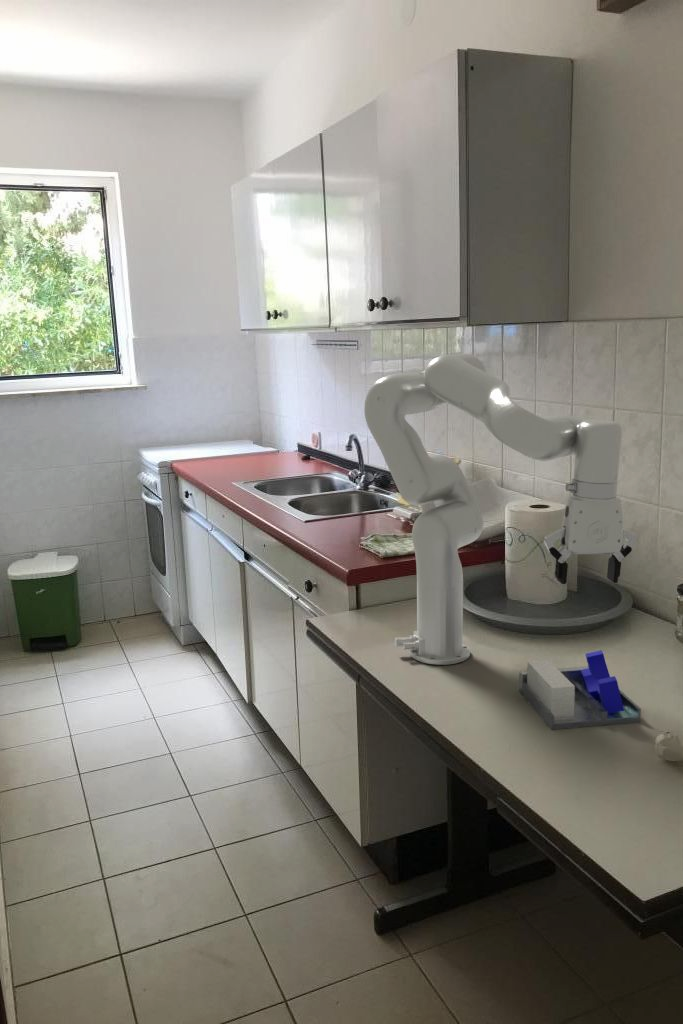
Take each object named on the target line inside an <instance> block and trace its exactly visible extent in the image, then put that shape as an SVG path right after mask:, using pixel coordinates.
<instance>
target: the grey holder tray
mask: <svg viewBox="0 0 683 1024" xmlns="http://www.w3.org/2000/svg"><path fill="white" fill-rule="evenodd" d="M587 668H589V667H588V665H586V666H575V667H574V666H573V667H563V668H562V667H561V668H557V667H556V666H555V665H554V664H553V663H552V662H551V661H550V660H549V659H545V660H531V661H530V660H529V661H527V667H526V669H527V670H520V671H519V675H518V676H519V680H518V681H519V682H518V692H519V693H520V694H521V696H522V697H523V696H524V697H523V698H524V699H525V700H526V702H527V703H528V704H529V705H530V707H531V708H533V710H534V711H535V713H537V715H538V716H539V717H540V718H541V719H542V721H543V722H544V723H545V725H546V726H547V727H548V728H549V729H550V731H551V730H553V731H554V730H565V729H575V728H578V729H579V728H586V727H597V726H600V727H601V726H609V725H610V726H611V725H612V726H613V725H620V724H623V725H624V724H632V723H633V724H634V723H635V724H637V723H640V722H641V715H642V714H641V711H642V710H641V707H640V706H639V705H637V704H636V703H635V702H634V701H633V700H632V699H630V698H629V697H628V695H626V694H625V693H624V692H623V691H622V690H620V689H619V691H620V695H621V700H622V704H623V708H624V711H620V712H616V713H611V714H608V711H607V710H606V709H605V708H604V707H603V705H602V703H601V701H600V698H596V699H594V698H593V697H592V696H591V695H590V694H589V693H588V692H587V689H586V687H585V685H584V681H583V677H582V673H581V670H583V669H587Z"/></svg>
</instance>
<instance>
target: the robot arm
mask: <svg viewBox="0 0 683 1024" xmlns="http://www.w3.org/2000/svg"><path fill="white" fill-rule="evenodd" d="M510 392H511V391H510V387H509V385H508V383H506V381H504V380H502V379H499V378H497V377H495V376H494V375H492V374H490V373H488V372H487V370H486V367H485V364H484V363H483V362H482V361H481V360H480V358H478V357H477V356H475V355H473V354H469V353H452V354H442V355H439V356H437V357H435V358H433V359H432V360H431V361H430V362H429V363H427V365H426V367H425V369H424V370H423V371H418V372H417V371H416V372H407V373H406V372H403V373H393V374H389V375H386V376H383V377H381V378H379V379H377V380H376V381H375V382H374V383H373V384H372V385H371V387H370V388H369V390H368V392H367V394H366V396H365V400H364V408H363V409H364V418H365V421H366V426H367V427H368V430H369V431H370V433H371V436H372V438H373V440H374V441H375V442H376V445H377V446H378V448H379V450H380V452H381V454H382V456H383V458H384V461H385V463H386V466H387V468H388V470H389V473H390V474H391V476H392V479H393V482H394V483H395V486H396V487H397V490H398V492H399V494H400V496H401V498H402V499H403V500H404V502H406V503H407V504H409V505H410V506H423V505H427V504H430V503H433V504H434V507H432V508H429V509H427V510H425V511H423V512H422V513H421V514H419V516H417V518H416V519H415V521H414V523H413V526H412V531H411V536H412V537H411V539H412V544H413V545H412V546H413V550H414V555H415V563H416V564H415V566H416V568H415V569H416V630H413V634H412V635H410V634H409V636H408V637H404V636H399V637H395V638H394V645H395V647H396V648H397V647H398V648H399V647H402V649H403V650H409V655H410V656H411V657H412V659H414V660H416V661H418V662H420V663H423V664H427V665H437V666H442V665H443V666H444V665H447V666H448V665H454V664H458V663H459V664H460V663H462V662H465V661H466V660H468V658H470V655H471V648H470V647H469V646H468V645H467V644H465V643H464V641H463V639H464V638H463V635H464V634H463V629H464V628H463V627H464V626H463V625H464V623H463V621H464V619H463V618H464V616H463V615H464V613H463V611H464V605H463V604H464V577H463V576H464V575H463V574H464V573H463V566H462V562H461V560H460V556H459V552H458V549H460V548H462V547H465V546H467V545H469V544H472V543H473V542H475V541H476V540H478V539H479V538H480V536H481V535H482V532H483V529H484V519H483V515H482V511H481V509H480V507H479V504H478V502H477V500H476V498H475V496H474V494H473V491H472V490H471V486H470V485H469V483H468V481H467V478H466V476H465V474H464V472H463V470H462V469H461V467H460V466H459V464H457V463H456V461H455V460H454V459H452V458H450V457H449V456H448V455H447V456H446V455H443V454H434V455H429V454H428V452H427V450H426V448H425V446H424V444H423V442H422V439H421V437H420V436H419V433H418V432H417V430H415V428H414V427H413V426H412V425H411V424H410V423H409V422H408V421H407V420H406V415H413V414H420V413H426V412H430V411H433V410H435V409H436V410H437V409H439V408H441V407H442V408H443V407H445V406H447V405H451V406H453V407H455V408H457V409H459V410H461V411H462V412H464V413H466V414H468V415H470V416H471V417H473V418H475V419H476V420H479V421H480V422H481V423H483V424H484V426H485V428H486V429H487V430H488V431H489V433H491V434H492V435H493V436H494V438H495V439H497V440H498V441H500V443H502V444H504V445H505V446H507V447H509V448H511V449H512V450H514V451H516V452H518V453H520V454H521V455H522V456H523V455H524V456H525V457H528V458H529V459H532V460H535V461H541V462H548V461H549V462H550V461H552V460H556V459H560V458H564V457H568V456H574V457H575V458H574V469H573V470H574V471H573V472H574V473H573V478H572V481H571V482H570V483H565V491H566V492H570V493H571V495H569V496H568V498H567V500H566V501H567V502H566V505H565V509H564V513H563V517H562V523H561V527H560V528H559V529H557V530H555V531H553V532H551V533H549V534H547V535H545V536H543V538H542V541H543V543H544V545H545V547H546V550H547V552H548V553H549V554H550V555H551V556H552V558H554V559H555V568H554V569H555V570H554V577H555V578H556V580H557V581H558V582H559V583H560V584H561V585H565V584H567V580H568V568H569V567H568V566H569V564H568V563H567V560H568V558H569V557H570V556H571V555H572V554H574V555H610V557H609V558H608V561H607V563H608V564H607V573H606V578H607V579H608V580H609V581H611V582H612V583H613V584H617V583H618V581H619V578H620V577H621V568H622V562H624V561H625V558H626V557H627V556H629V554H630V553H631V552H633V551H632V550H633V548H634V546H635V544H636V543H637V542H638V537H637V536H636V535H634V534H632V533H630V532H628V531H627V530H625V529H623V528H624V526H623V523H624V522H623V518H624V517H623V506H622V499H621V498H620V497H617V492H618V480H619V469H620V468H619V467H620V457H621V449H622V447H621V446H622V438H623V436H622V433H623V429H622V426H621V424H620V423H619V422H616V421H614V420H607V419H588V418H583V417H579V416H576V415H571V414H559V415H554V416H553V415H552V416H548V417H547V416H546V417H542V416H540V415H537V414H535V413H533V412H532V411H529V410H528V409H526V408H524V407H521V406H520V405H518V404H517V403H516V402H515V401H514V400H512V398H510V394H511V393H510ZM623 539H625V541H624V544H623ZM558 540H560V545H561V546H560V547H559V548H558V549H557V548H556V547H555V542H556V541H558Z"/></svg>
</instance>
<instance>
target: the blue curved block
mask: <svg viewBox="0 0 683 1024" xmlns="http://www.w3.org/2000/svg"><path fill="white" fill-rule="evenodd" d="M584 656H585V658H586V662H587V666H588V667H589V668H587V669H583V670H581V673H582V677H583V681H584V685H585V687H586V689H587V692H588V693H589V694H590V695H591V696H592V697H593V698H594V699H596V698H600V701H601V703H602V705H603V707H604V708H605V709H606V710H607V711H608V714H611V713H616V712H620V711H624V708H623V704H622V700H621V695H620V691H621V690H620V688H619V684H618V679H617V677H616V676H614V675H613V676H611V675H610V672H609V670H608V665H607V662H606V658H605V656H604V652H603V650H602V649H601V650H597V651H592V652H587V653H585V655H584ZM619 690H620V691H619Z"/></svg>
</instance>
